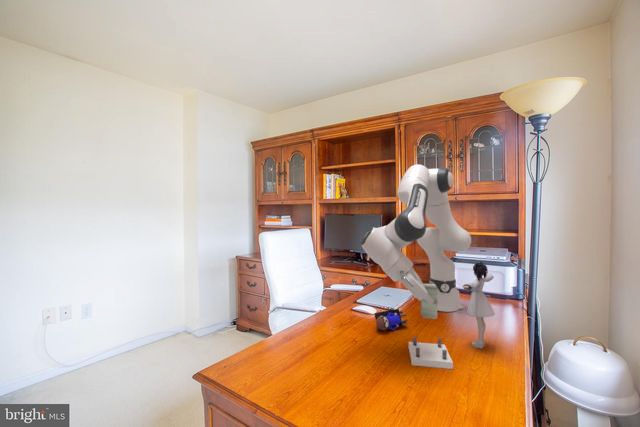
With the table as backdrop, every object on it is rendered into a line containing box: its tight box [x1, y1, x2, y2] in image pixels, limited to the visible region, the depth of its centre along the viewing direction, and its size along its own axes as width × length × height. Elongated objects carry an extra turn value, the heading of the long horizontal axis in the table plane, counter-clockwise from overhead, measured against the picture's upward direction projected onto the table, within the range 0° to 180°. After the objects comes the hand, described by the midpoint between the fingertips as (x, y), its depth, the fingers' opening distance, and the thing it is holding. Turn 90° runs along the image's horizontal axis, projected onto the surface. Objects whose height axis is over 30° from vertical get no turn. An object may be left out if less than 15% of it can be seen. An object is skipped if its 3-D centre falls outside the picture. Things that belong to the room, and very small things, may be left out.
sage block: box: [420, 283, 438, 320], centre depth 97 cm, size 4×4×10 cm
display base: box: [408, 336, 454, 370], centre depth 98 cm, size 12×12×4 cm
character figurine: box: [374, 308, 409, 332], centre depth 121 cm, size 8×7×15 cm
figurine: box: [461, 261, 496, 349], centre depth 104 cm, size 25×8×30 cm, turn 135°
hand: (430, 299), depth 97 cm, fingers closed on sage block, 4 cm apart
